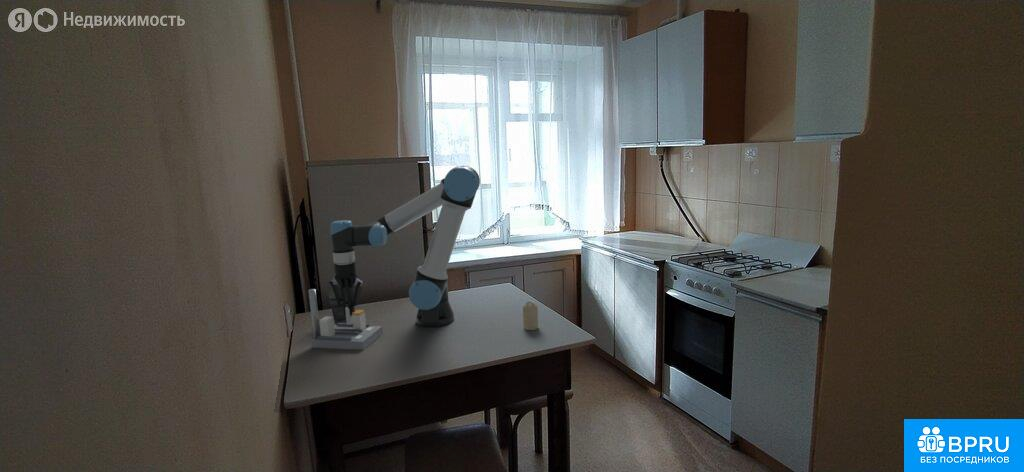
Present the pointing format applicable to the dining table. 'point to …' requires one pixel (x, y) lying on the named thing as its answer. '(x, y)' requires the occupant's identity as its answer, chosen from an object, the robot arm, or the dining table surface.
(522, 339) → the dining table surface
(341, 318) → the beverage cup
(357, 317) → the grey orange block
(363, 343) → the panel
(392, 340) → the dining table surface
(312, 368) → the dining table surface
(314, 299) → the post
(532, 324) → the candle
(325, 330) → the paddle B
